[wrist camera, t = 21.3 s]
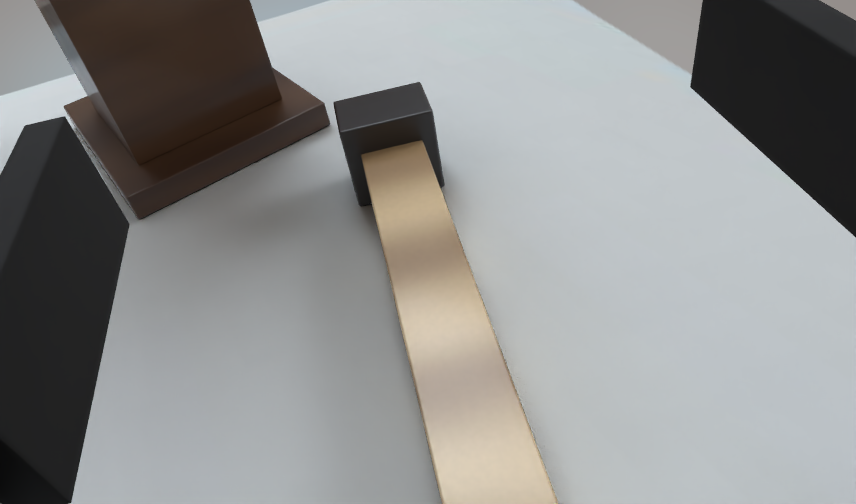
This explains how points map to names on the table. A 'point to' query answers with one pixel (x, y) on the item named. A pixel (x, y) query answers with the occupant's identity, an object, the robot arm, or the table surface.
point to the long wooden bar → (440, 306)
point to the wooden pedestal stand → (176, 92)
